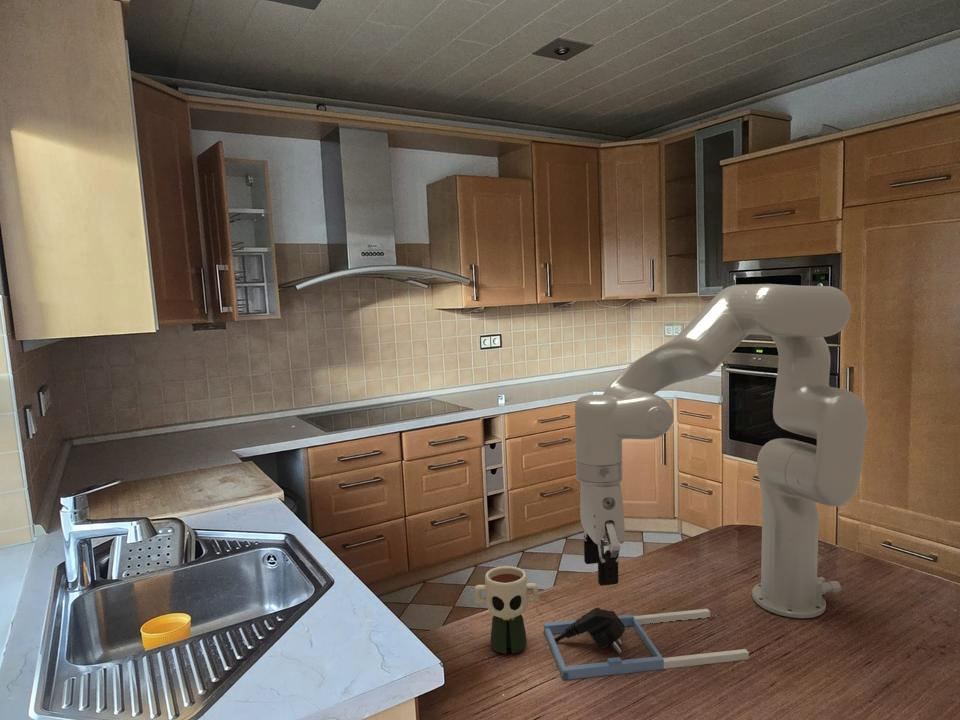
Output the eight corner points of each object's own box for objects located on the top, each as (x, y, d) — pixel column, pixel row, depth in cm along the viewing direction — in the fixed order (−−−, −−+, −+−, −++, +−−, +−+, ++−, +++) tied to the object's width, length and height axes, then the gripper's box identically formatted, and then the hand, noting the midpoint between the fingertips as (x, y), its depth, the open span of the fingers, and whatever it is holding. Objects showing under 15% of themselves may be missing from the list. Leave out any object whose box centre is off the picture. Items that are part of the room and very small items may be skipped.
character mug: (476, 659, 103) (473, 584, 102) (478, 636, 110) (474, 566, 109) (541, 657, 103) (538, 582, 102) (539, 634, 110) (536, 564, 109)
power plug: (553, 628, 110) (608, 596, 107) (578, 663, 110) (634, 631, 107) (549, 646, 105) (607, 612, 102) (575, 683, 105) (634, 650, 102)
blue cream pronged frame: (707, 614, 114) (707, 603, 114) (748, 659, 101) (748, 646, 100) (544, 631, 111) (543, 620, 111) (563, 680, 97) (563, 667, 97)
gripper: (640, 485, 93) (641, 596, 95) (604, 455, 110) (605, 549, 112) (592, 489, 92) (594, 601, 94) (563, 457, 109) (565, 553, 112)
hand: (600, 572), depth 103 cm, fingers open, 7 cm apart
